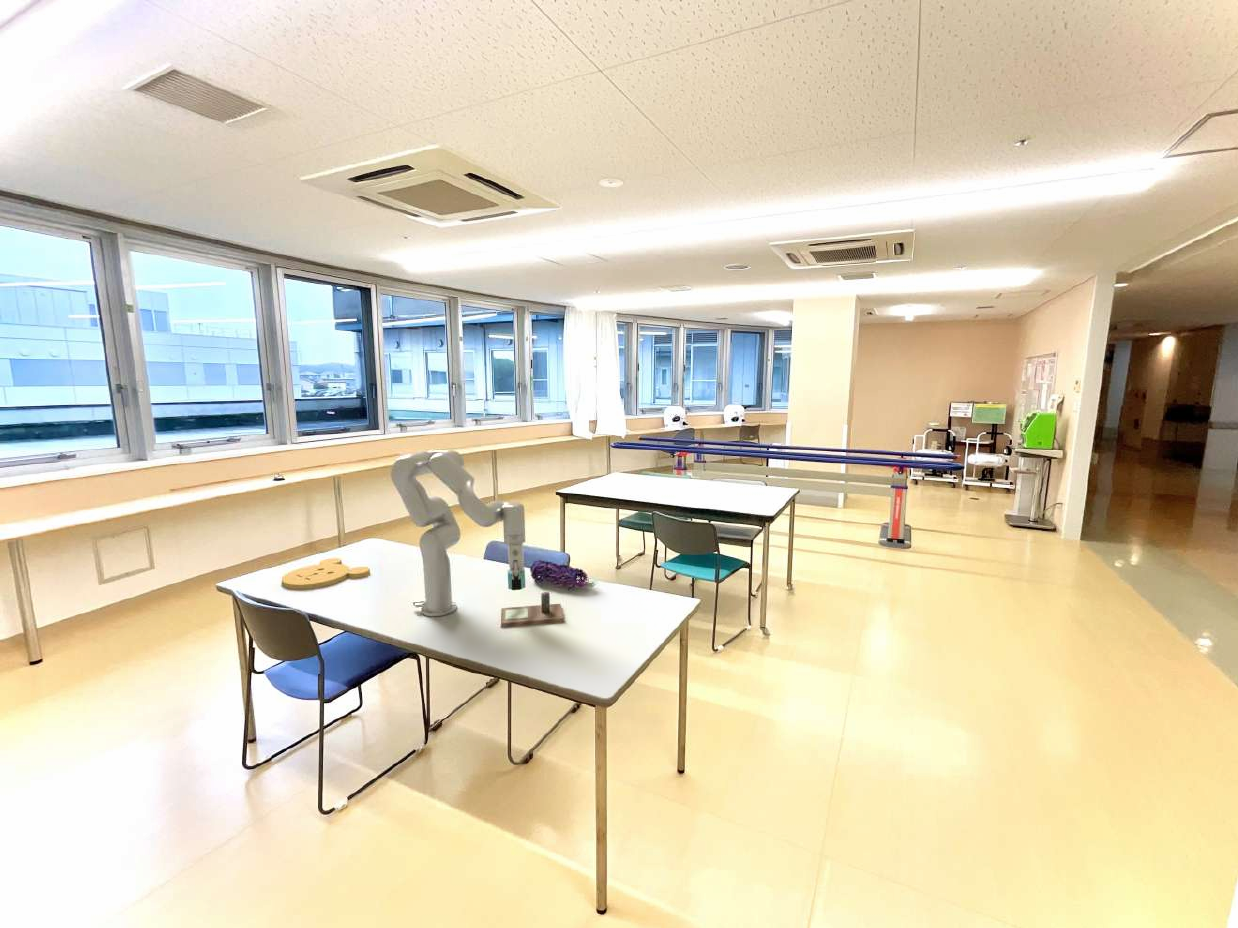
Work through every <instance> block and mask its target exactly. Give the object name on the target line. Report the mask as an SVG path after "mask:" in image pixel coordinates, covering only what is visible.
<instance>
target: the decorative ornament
mask: <svg viewBox="0 0 1238 928" xmlns="http://www.w3.org/2000/svg"><path fill="white" fill-rule="evenodd" d="M529 571H530V576H531V577H532V579H533V582H538V581H539V582H541V583H543V582H544V581H545V582H547V583H549V582H551V583H552V584H553V585H554V586H555V588H559V587H560V586H561V587H568V589H567V590H568V591H570V589H572V588H575V587H581V588H583V587H584V588H587V589H589V588H592V587H593V588H594V587H595V585H596V584H597V583H598V580H593V579H590V580H591V581H590V580H589V577H588V574H587V573H586V572H585V571H584V569H581V568H580V569H579V568H577V567H576V568H574V567H572V566H569V565H566V564H563V563H562V564H557V563H556V562H555V563H554V562H552V561H548V560H546V559H545V560H541V559H540V558H539V559H538V560H533V563H532V565H531V566H530V568H529ZM596 582H597V583H596ZM569 586H570V587H569Z"/></svg>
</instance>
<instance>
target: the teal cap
mask: <svg viewBox="0 0 1238 928" xmlns="http://www.w3.org/2000/svg"><path fill="white" fill-rule="evenodd" d="M518 570H519V569H518ZM513 571H514V569H513ZM518 574H519V573H518ZM520 578H521V590H522V589H525V588H526V571H525V569H524V570H523V571H522V570H520ZM507 584H508V586H507V587H508V589H509V590H511V591H513V590H512V572H511V571H510V569H509V570H507Z"/></svg>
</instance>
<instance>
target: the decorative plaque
mask: <svg viewBox="0 0 1238 928" xmlns="http://www.w3.org/2000/svg"><path fill="white" fill-rule="evenodd" d="M318 563H319V564H313V565H309V566H304V567H300V568H298V569H297V568H296V569H294V570H291V571H289V572H288V573H285V574H284V575H282V577H281V586H283V588H285V589H288V590H296V591H297V590H298V591H299V590H300V591H303V590H304V591H305V590H314V589H321V588H326V587H329V586H333V585H337V584H338V583H342V582H343V581H345V580H347V579H355V580H356V579H362V578H365V577H369V576H370V574H371V569H370V567H369V566H357V567H352V568H350V566H348V565H345V564H343V563H342V559H341V558H339V557H338V558H337V557H330V558H326V559H323V560H320V561H319V562H318Z"/></svg>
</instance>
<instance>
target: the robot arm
mask: <svg viewBox="0 0 1238 928" xmlns="http://www.w3.org/2000/svg"><path fill="white" fill-rule="evenodd" d="M464 464H465V461H464V458H463V456H462V454H460V453H459V452H458V451H456V450H424V451H418V452H413V453H407V454H405V455H402V456H400V457H399V458H397V459H396V460H395V461H394V463H393V464H392V467H391V470H390V477H391V481H392V484H393V486H394V487H395V489H396V491H397V493H398V494H399V496H400V498H401V500H402V502H403V504H404V507H405V508H406V511H407V512H408V514H409V516H410V518H411V521H412V522H413V524H414V525H415V526H416V527H418V528H426V527H428V526H432V525H433V527H432V528H430V529H427V530H426V531H424V532H423V533H422V534H421V536H420V538H419V549H420V553H421V558H422V567H423V582H424V585H423V586H424V598H422V599H420V600H419V599H415V600H413V601H412V605H413V607H415V608H421V614H422V615H423V616H427V617H442V616H446V615H448V614H449V615H450V614H452V613H453V612H454V611H456V609H457V603H456V602H455V601H453V595H452V594H453V592H452V591H453V590H452V574H451V573H452V571H451V570H452V569H451V568H452V567H451V561H450V557H449V554H448V553H447V550H448V549H450V548H451V547H453V546H455V545H457V543H459V541H460V539H461V536H462V534H461V529H460V526H459V524H458V522H457V520H456V518H455V516H454V514H453V512H452V510H451V507H450V506H449V504H448V503H447V502H446V500H444V499H443V498H441V497H438V496H432V497H429V496H428V494H427V492H426V490H425V487H424V486H423V485H422V484H421V483H420V482H419V480H417V479H416V477H418V476H422V475H426V474H430V473H431V474H433V475H434V476H435V477H437V479H438V480H440V482H442V483H443V484H444V485H445V486H446V487H447V488H448V489H450V490H451V492H453V493H454V495H456V498H457V501H458V503H459V506H460V507H461V510H462V511H463V513H464V514H466V516H467V517H469V519H471V520H472V521H473V522H474V523H475V524H477V525H478V526H480V527H483V528H489V527H492V526H494V525H496V524H498V523H500V522H502V524H503V525H502V526H503V528H502V529H503V543H504V544H505V545H507V556H508V558H507V559H508V566H509V570H510V571H511V572H512V590H511V591H520V590H522V589H521V578H520V570H522V571H523V570H525V560H524V556H525V555H524V543H526V518H525V505H524V504H523V503H521V502H507V501H503V500H493V501H492V502H489V503H487V504H485V503H484V502H483V501H482V500H481V499H479V498H478V496H477V495H476V493H475V492H474V488H473V487H474V484H475V478H474V476H472V475H471V474H470V473H469V472H468V471H467V470H466V469H465V468H464ZM513 569H514V571H513ZM518 569H519V570H518ZM518 573H519V574H518Z"/></svg>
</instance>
